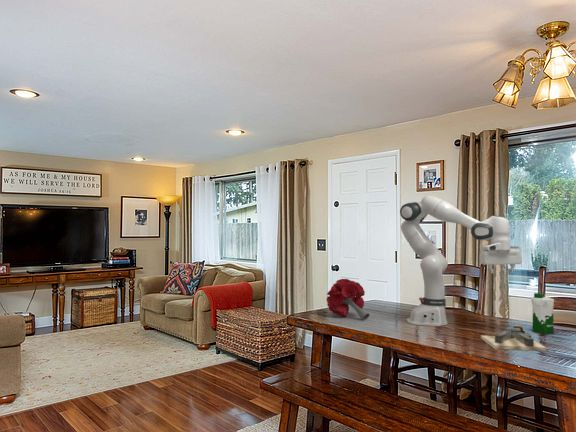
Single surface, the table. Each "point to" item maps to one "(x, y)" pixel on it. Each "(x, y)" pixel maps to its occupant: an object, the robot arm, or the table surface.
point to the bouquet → (346, 298)
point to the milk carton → (542, 314)
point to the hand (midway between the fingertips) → (501, 273)
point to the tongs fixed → (521, 336)
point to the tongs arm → (502, 336)
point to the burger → (521, 330)
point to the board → (512, 344)
